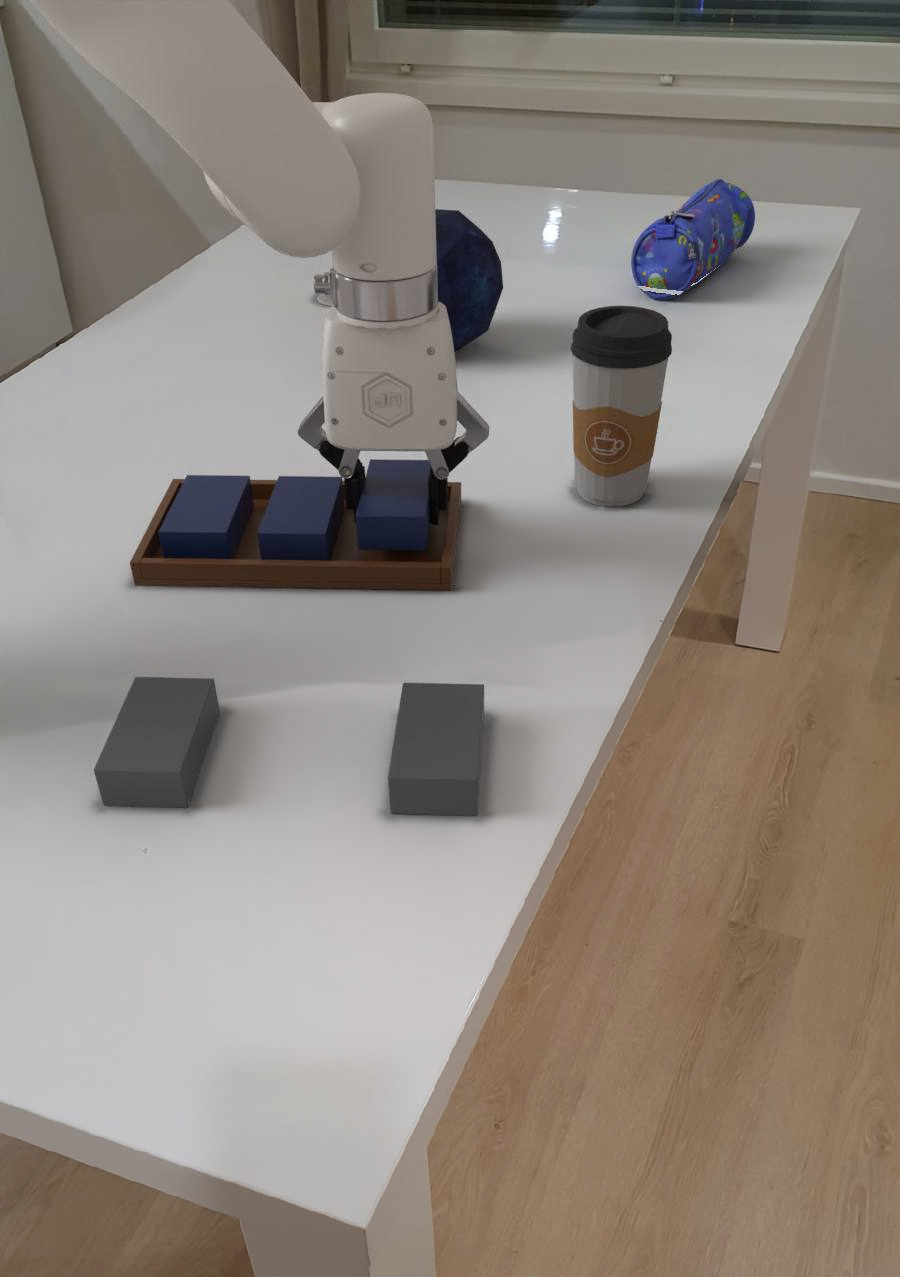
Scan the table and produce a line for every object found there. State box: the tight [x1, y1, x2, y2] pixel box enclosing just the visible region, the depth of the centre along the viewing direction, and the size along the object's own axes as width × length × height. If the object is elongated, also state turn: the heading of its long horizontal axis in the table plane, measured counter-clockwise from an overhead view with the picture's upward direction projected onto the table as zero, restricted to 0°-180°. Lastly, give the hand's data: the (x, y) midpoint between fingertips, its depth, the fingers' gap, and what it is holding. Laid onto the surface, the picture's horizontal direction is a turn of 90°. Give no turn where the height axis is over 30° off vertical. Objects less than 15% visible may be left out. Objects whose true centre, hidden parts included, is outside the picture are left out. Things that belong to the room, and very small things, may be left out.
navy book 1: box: [159, 474, 254, 559], centre depth 101 cm, size 6×10×3 cm, turn 176°
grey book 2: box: [387, 682, 485, 817], centre depth 78 cm, size 6×10×3 cm, turn 176°
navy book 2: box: [257, 475, 345, 561], centre depth 100 cm, size 6×10×3 cm, turn 176°
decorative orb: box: [435, 208, 504, 355], centre depth 130 cm, size 14×15×15 cm
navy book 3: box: [356, 458, 431, 551], centre depth 99 cm, size 6×10×3 cm, turn 176°
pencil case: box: [630, 178, 756, 301], centre depth 147 cm, size 22×9×10 cm, turn 150°
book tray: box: [129, 478, 462, 591], centre depth 101 cm, size 26×15×2 cm, turn 86°
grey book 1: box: [93, 676, 221, 809], centre depth 79 cm, size 6×10×3 cm, turn 176°
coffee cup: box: [569, 305, 673, 508], centre depth 103 cm, size 8×8×15 cm
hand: (398, 514), depth 100 cm, fingers closed on navy book 3, 5 cm apart
